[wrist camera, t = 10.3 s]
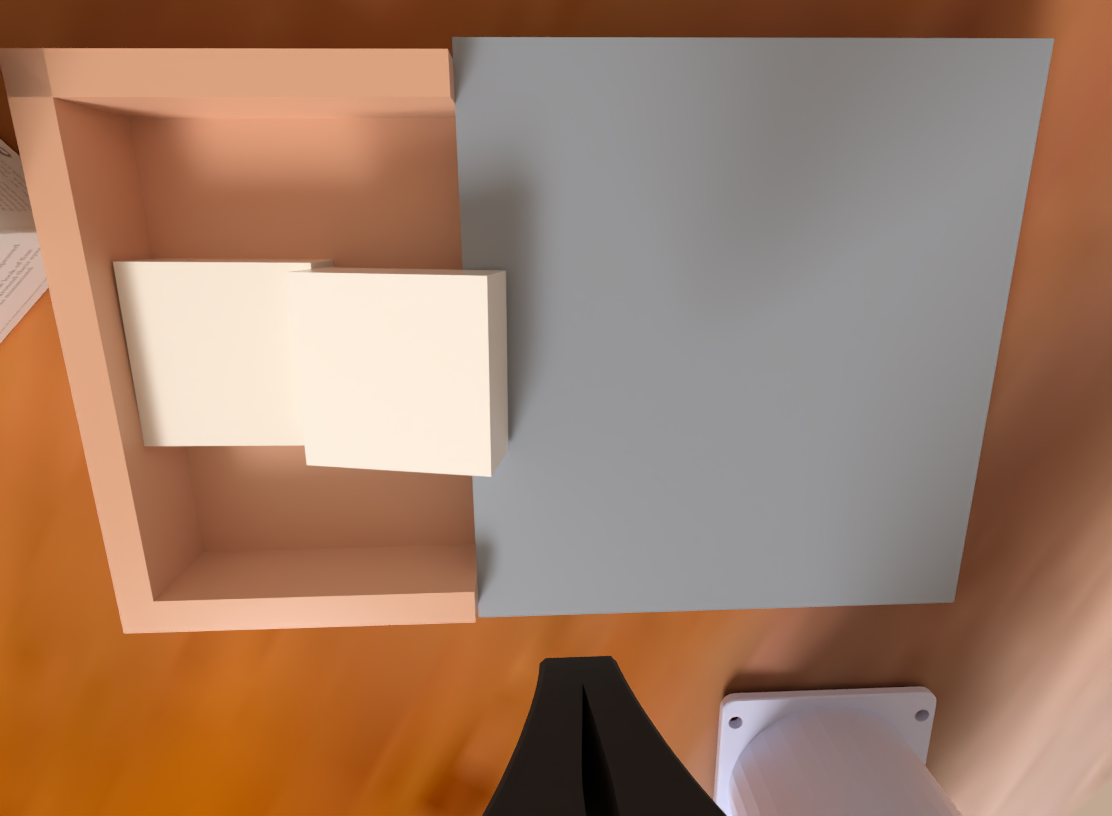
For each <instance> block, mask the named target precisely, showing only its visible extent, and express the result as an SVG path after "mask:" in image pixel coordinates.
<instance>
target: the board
mask: <svg viewBox="0 0 1112 816" xmlns="http://www.w3.org/2000/svg"><path fill="white" fill-rule="evenodd" d="M1053 43H1054V38H702V37H452V50H453V71H454V93H455V114H456V136H457V157H458V179H459V200H460V221H461V243H462V264H463V270H506V307H507V385H508V452H507V454H506V455H505V457H504V458H503V460H502V461H501V463H500V464H499V466H498V467H497V469H496V470H495V472H494V473H493V475H492V476H491V477H486V476H472V479H473V500H474V522H475V543H476V565H477V586H478V608H479V617H508V616H540V615H572V614H603V613H635V612H667V611H699V610H730V609H762V608H794V607H825V606H857V605H889V604H920V603H952V602H954V599H955V594H956V588H957V582H958V577H959V571H960V566H961V560H962V554H963V549H964V543H965V537H966V532H967V526H968V521H969V515H970V509H971V504H972V498H973V493H974V487H975V481H976V476H977V470H978V464H979V459H980V453H981V448H982V442H983V436H984V431H985V425H986V420H987V414H988V408H989V403H990V397H991V391H992V386H993V380H994V375H995V369H996V363H997V358H998V352H999V347H1000V341H1001V335H1002V330H1003V324H1004V318H1005V313H1006V307H1007V302H1008V296H1009V290H1010V285H1011V279H1012V274H1013V268H1014V262H1015V257H1016V251H1017V245H1018V240H1019V234H1020V229H1021V223H1022V217H1023V212H1024V206H1025V201H1026V195H1027V189H1028V184H1029V178H1030V172H1031V167H1032V161H1033V156H1034V150H1035V144H1036V139H1037V133H1038V128H1039V122H1040V116H1041V111H1042V105H1043V99H1044V94H1045V88H1046V83H1047V77H1048V71H1049V66H1050V60H1051V55H1052V49H1053Z"/></svg>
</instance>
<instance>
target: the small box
mask: <svg viewBox="0 0 1112 816" xmlns="http://www.w3.org/2000/svg"><path fill="white" fill-rule="evenodd" d="M47 289H48V282H47V277H46V273H45V268H44V264H43V259H42V254H41V250H40V245H39V241H38V236H37V231H36V227H35V222H34V218H33V213H32V208H31V204H30V199H29V195H28V190H27V185H26V181H25V176H24V172H23V167H22V162H21V158H20V156H19V155H18V154H17V153H15V152H14V151H13V150H12V149H11V148H10V147H9V146H8V145H7V144H5V143H4V142H3V141H2V140H1V139H0V343H1V342H2V341H3V340H4V339H5V337H6V336H7V335H8V334H9V333H10V332H11V330H12V329H13V328H14V327H15V326H16V325H17V324H18V322H19V321H20V320H21V319H22V318H23V317H24V315H25V314H26V313H27V312H28V311H29V310H30V308H31V307H32V306H33V305H34V304H35V303H36V301H37V300H38V299H39V298H40V297H41V296H42V294H43V293H44V292H45V291H46V290H47Z"/></svg>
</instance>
